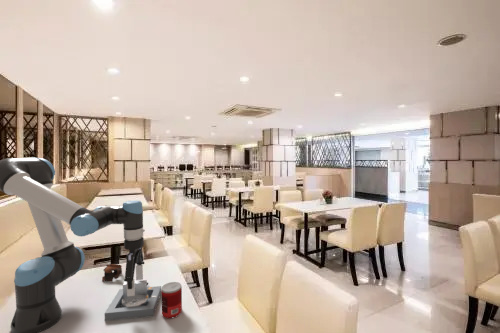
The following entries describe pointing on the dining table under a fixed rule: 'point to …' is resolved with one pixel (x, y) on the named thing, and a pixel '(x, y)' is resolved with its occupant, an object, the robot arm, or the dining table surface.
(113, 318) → the grey square tray
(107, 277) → the pottery mug
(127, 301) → the dial
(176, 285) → the canned food
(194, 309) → the dining table surface
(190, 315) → the dining table surface
